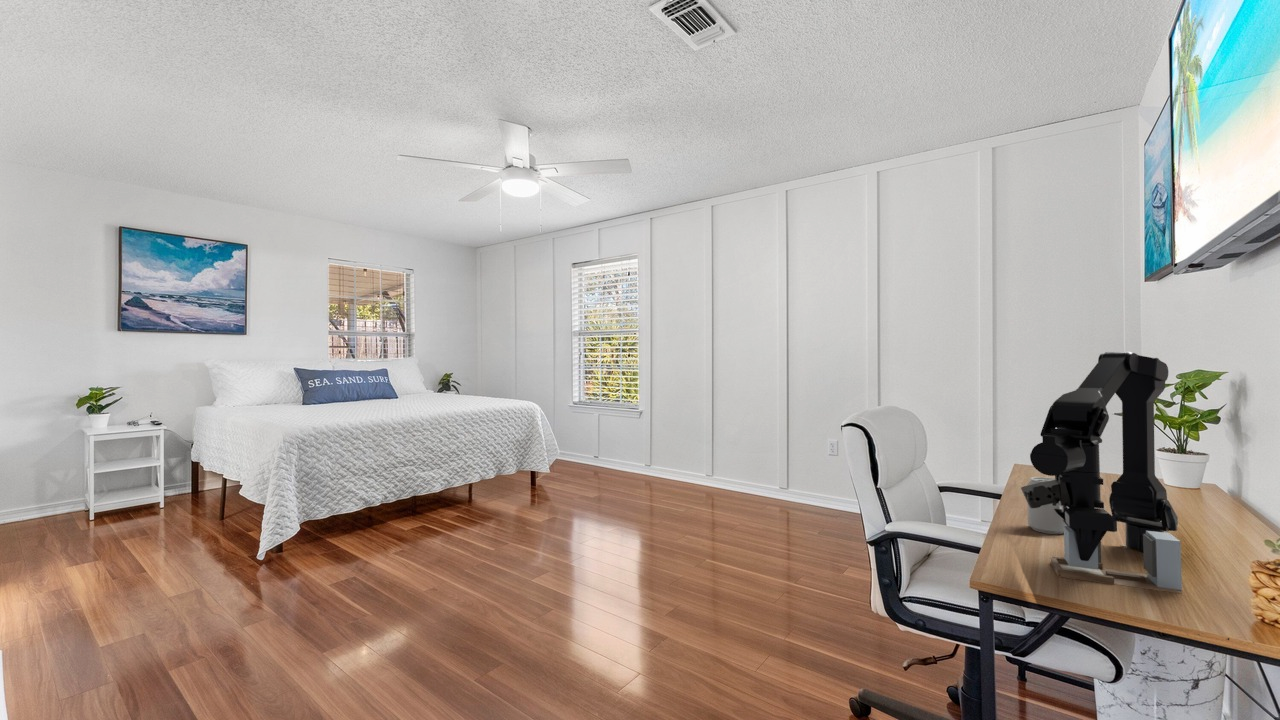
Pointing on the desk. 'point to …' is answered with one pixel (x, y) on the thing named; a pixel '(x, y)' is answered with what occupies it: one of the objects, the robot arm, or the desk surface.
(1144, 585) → the rail
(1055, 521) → the can
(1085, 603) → the desk surface
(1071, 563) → the finger block
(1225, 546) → the desk surface
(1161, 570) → the block
